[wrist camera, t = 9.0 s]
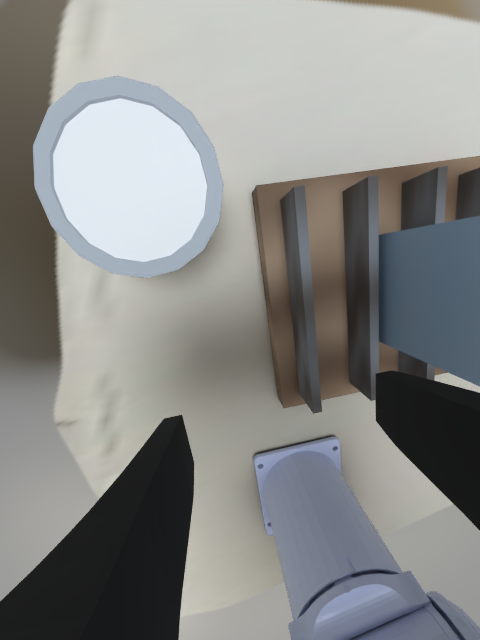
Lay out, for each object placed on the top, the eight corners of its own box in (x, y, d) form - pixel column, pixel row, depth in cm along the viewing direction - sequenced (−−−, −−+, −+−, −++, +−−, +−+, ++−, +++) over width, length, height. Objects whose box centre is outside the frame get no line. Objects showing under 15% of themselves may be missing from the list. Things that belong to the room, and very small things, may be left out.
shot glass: (157, 137, 14) (107, 18, 7) (238, 219, 16) (259, 183, 9) (90, 223, 15) (-13, 186, 8) (175, 293, 16) (150, 312, 10)
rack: (447, 361, 21) (501, 383, 17) (278, 397, 19) (294, 430, 16) (462, 164, 17) (537, 134, 13) (252, 193, 15) (265, 168, 12)
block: (391, 328, 17) (534, 377, 10) (362, 334, 17) (484, 388, 10) (392, 233, 16) (567, 200, 8) (360, 238, 16) (507, 210, 8)
